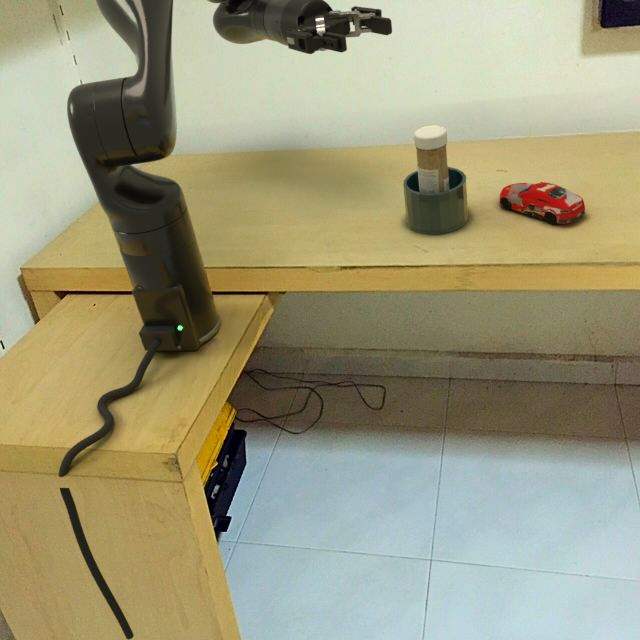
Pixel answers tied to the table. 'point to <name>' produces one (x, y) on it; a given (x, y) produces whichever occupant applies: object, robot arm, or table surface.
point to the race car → (543, 201)
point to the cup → (436, 205)
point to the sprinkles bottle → (432, 159)
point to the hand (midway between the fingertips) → (367, 35)
